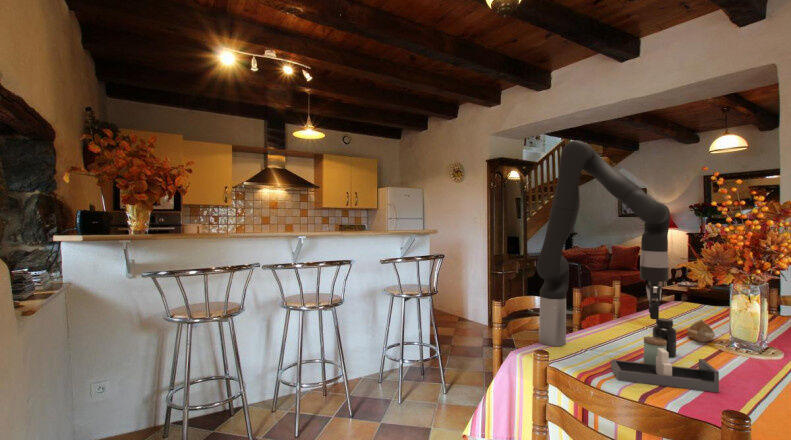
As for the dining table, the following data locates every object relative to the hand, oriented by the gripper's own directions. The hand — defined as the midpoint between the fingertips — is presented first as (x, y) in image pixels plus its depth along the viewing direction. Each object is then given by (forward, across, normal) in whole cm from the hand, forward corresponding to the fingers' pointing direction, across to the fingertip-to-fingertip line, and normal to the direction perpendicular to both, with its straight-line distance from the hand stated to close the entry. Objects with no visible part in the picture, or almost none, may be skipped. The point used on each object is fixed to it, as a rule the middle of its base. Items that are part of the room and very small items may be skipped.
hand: (653, 316), depth 123 cm
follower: (+16, -10, -2) cm, 19 cm away
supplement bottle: (+16, +16, -4) cm, 23 cm away
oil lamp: (+16, +43, -17) cm, 49 cm away
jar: (+16, +3, -1) cm, 16 cm away
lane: (+16, -11, -2) cm, 19 cm away
